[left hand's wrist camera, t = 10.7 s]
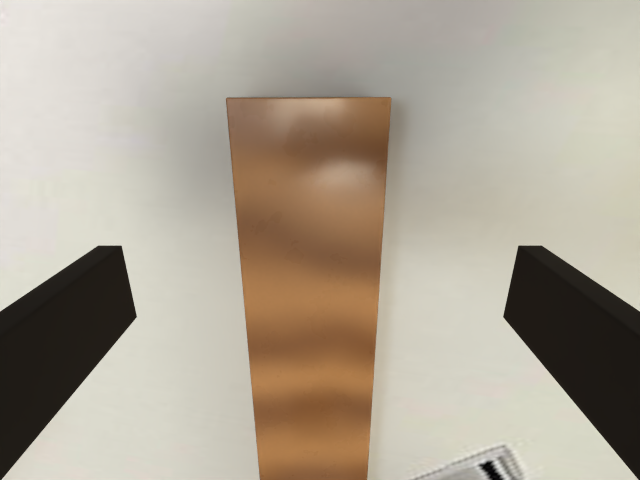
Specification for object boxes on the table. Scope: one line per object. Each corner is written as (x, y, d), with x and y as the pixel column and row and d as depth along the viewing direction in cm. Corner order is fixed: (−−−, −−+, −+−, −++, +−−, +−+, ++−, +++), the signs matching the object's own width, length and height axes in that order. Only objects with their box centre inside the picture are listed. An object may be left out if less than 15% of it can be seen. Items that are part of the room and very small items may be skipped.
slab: (246, 97, 26) (225, 97, 20) (371, 97, 26) (391, 97, 20) (281, 588, 48) (276, 665, 42) (349, 586, 48) (355, 662, 42)
